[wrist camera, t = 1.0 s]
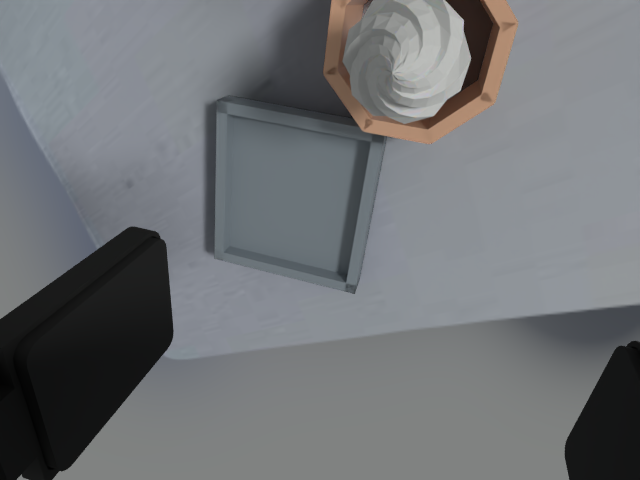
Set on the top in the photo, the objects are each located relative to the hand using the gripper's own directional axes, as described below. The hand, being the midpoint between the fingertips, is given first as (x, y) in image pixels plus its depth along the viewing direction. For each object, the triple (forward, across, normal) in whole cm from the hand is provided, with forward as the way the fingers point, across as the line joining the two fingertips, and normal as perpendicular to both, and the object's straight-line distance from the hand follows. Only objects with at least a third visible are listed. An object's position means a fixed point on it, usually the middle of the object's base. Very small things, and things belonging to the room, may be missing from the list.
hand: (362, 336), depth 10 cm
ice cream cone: (+25, +2, -3) cm, 25 cm away
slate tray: (+25, +9, +9) cm, 27 cm away
